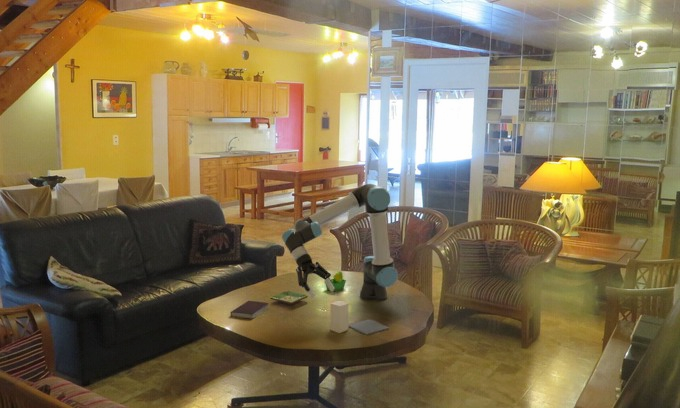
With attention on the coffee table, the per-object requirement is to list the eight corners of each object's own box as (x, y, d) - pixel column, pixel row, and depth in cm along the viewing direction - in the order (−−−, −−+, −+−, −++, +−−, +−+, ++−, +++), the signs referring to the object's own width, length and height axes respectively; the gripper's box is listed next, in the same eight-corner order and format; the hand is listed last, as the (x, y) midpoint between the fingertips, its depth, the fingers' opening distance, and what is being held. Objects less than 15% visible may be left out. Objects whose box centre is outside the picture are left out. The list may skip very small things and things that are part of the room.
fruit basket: (337, 285, 350) (337, 267, 349) (348, 289, 344) (348, 270, 343) (323, 289, 342) (323, 270, 341) (334, 293, 336) (334, 273, 334)
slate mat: (370, 320, 293) (370, 319, 293) (389, 328, 282) (389, 327, 282) (347, 326, 285) (347, 325, 285) (366, 335, 274) (366, 333, 274)
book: (230, 317, 297) (230, 310, 296) (248, 305, 315) (248, 299, 314) (252, 320, 293) (252, 314, 292) (269, 308, 311) (269, 302, 311)
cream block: (338, 326, 284) (339, 300, 282) (348, 329, 280) (348, 303, 278) (330, 329, 280) (330, 303, 278) (339, 333, 276) (339, 306, 274)
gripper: (316, 257, 304) (336, 291, 296) (279, 266, 286) (300, 303, 278) (323, 249, 299) (344, 283, 292) (286, 257, 281) (308, 294, 274)
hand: (323, 293), depth 285 cm, fingers open, 13 cm apart
